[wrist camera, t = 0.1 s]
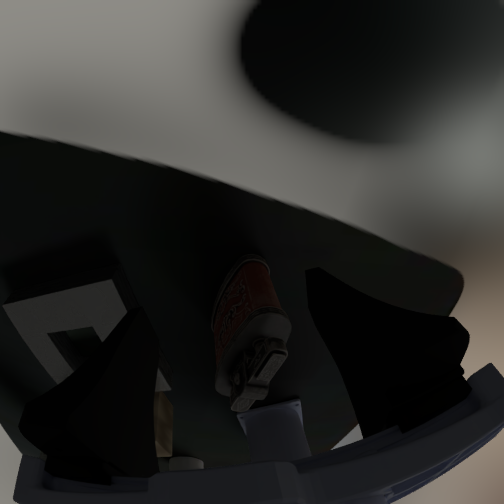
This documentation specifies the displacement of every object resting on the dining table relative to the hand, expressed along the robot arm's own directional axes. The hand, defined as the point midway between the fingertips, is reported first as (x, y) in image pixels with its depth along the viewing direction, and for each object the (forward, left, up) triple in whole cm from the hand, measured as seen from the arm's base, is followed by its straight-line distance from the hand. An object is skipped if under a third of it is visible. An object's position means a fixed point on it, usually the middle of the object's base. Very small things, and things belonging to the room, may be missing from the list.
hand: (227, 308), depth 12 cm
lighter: (-7, 0, -10) cm, 12 cm away
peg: (-19, +13, -10) cm, 25 cm away
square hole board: (-8, +15, -10) cm, 20 cm away
